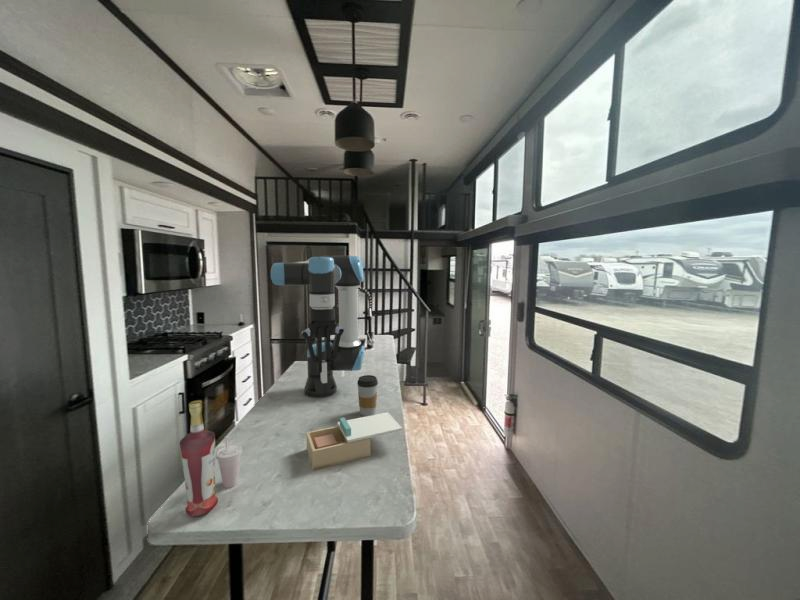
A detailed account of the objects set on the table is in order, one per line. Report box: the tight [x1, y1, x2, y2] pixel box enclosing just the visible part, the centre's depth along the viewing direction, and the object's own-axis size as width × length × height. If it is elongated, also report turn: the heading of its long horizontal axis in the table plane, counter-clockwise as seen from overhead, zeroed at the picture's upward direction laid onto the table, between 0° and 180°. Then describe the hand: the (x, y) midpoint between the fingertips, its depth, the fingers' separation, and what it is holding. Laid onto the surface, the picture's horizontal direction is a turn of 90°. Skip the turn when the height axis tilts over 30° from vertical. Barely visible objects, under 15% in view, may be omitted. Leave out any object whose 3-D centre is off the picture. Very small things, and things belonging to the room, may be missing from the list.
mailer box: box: [305, 425, 371, 471], centre depth 106 cm, size 12×18×6 cm, turn 115°
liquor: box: [179, 399, 219, 517], centre depth 80 cm, size 7×7×28 cm
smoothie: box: [215, 435, 243, 489], centre depth 91 cm, size 6×6×14 cm
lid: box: [337, 411, 403, 443], centre depth 110 cm, size 13×19×3 cm
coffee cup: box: [357, 374, 379, 417], centre depth 134 cm, size 8×8×15 cm
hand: (323, 381), depth 103 cm, fingers closed
